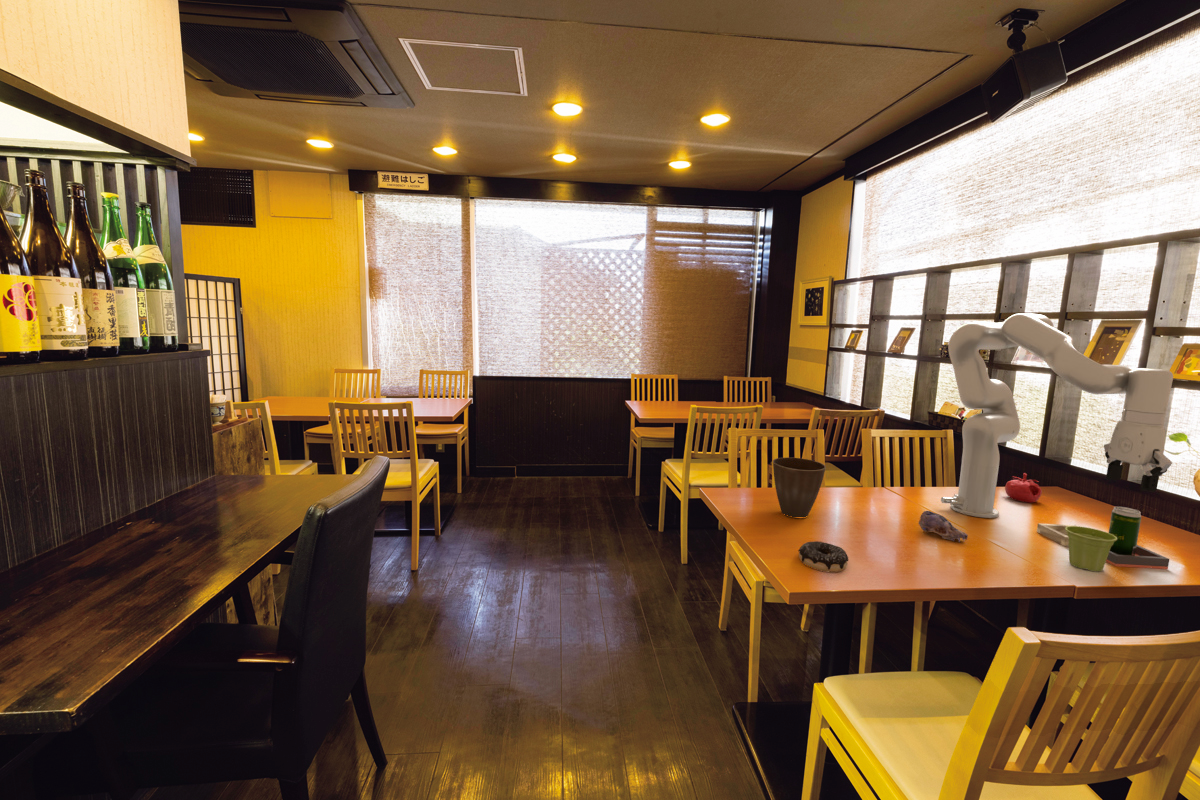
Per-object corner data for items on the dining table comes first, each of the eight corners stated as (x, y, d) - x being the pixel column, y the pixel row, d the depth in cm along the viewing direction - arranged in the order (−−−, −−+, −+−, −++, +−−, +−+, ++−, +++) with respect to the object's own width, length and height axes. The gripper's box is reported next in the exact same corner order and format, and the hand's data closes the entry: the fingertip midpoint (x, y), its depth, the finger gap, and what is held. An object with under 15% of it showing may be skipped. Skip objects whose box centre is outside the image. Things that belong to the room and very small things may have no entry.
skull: (972, 543, 144) (975, 521, 144) (954, 547, 141) (956, 525, 140) (929, 527, 155) (931, 507, 154) (911, 531, 152) (913, 510, 151)
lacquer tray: (1115, 566, 132) (1116, 556, 131) (1076, 546, 143) (1077, 537, 143) (1167, 569, 131) (1169, 559, 130) (1124, 549, 143) (1125, 539, 142)
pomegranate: (1001, 499, 184) (1003, 473, 183) (1007, 494, 191) (1009, 468, 190) (1037, 506, 177) (1040, 479, 176) (1043, 500, 184) (1045, 474, 182)
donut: (842, 556, 133) (843, 541, 133) (853, 578, 122) (854, 561, 121) (795, 551, 136) (796, 536, 135) (801, 571, 124) (803, 555, 124)
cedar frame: (1064, 546, 144) (1065, 537, 143) (1036, 531, 154) (1037, 523, 153) (1104, 548, 143) (1106, 539, 142) (1074, 533, 153) (1075, 525, 153)
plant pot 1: (831, 517, 161) (836, 466, 158) (801, 527, 152) (805, 472, 150) (789, 503, 173) (793, 455, 171) (759, 511, 164) (762, 460, 162)
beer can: (1135, 555, 137) (1143, 510, 135) (1133, 561, 133) (1141, 515, 132) (1106, 548, 141) (1113, 504, 139) (1104, 554, 137) (1111, 509, 136)
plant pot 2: (1050, 558, 135) (1055, 525, 134) (1084, 558, 136) (1089, 525, 135) (1086, 575, 126) (1091, 540, 125) (1122, 575, 127) (1128, 540, 126)
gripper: (1097, 411, 141) (1086, 474, 144) (1159, 424, 124) (1145, 495, 127) (1127, 413, 141) (1115, 475, 143) (1194, 426, 123) (1179, 497, 126)
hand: (1129, 484), depth 135 cm, fingers open, 9 cm apart
